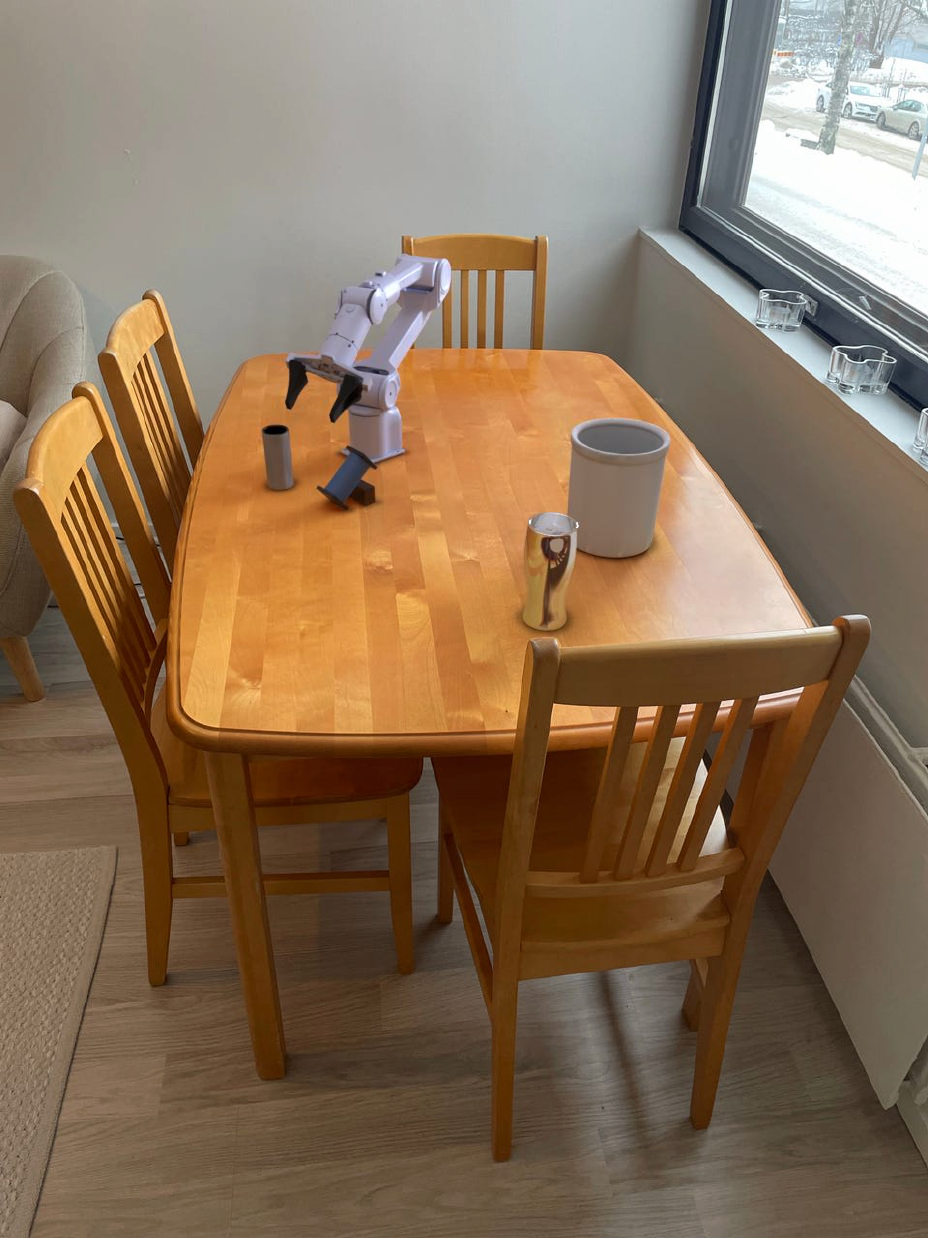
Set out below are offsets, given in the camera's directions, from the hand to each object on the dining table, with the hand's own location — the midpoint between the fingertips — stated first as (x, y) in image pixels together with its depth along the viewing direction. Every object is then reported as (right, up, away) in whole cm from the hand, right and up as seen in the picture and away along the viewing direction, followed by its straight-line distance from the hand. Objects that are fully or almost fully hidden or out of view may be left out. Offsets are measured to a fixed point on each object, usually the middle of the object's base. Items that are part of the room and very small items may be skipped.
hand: (309, 412), depth 147 cm
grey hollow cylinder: (-7, -10, +13) cm, 18 cm away
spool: (+5, -10, +5) cm, 12 cm away
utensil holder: (+48, -20, 0) cm, 52 cm away
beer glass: (+36, -33, -20) cm, 53 cm away
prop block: (+7, -13, +9) cm, 17 cm away
